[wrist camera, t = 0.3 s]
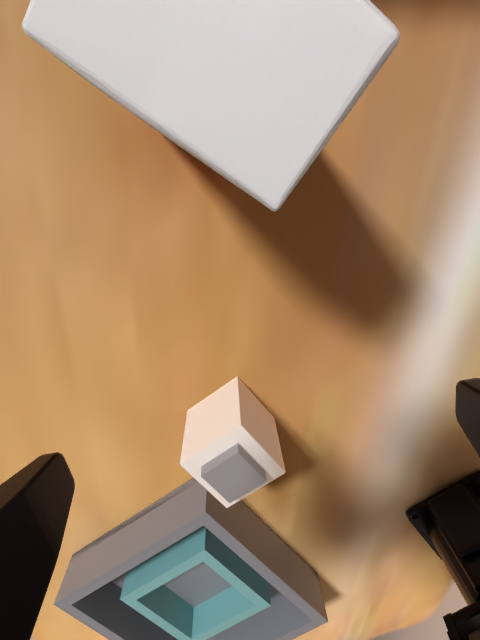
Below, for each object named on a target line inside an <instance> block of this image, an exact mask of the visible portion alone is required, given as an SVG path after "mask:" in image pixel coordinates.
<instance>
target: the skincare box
mask: <svg viewBox="0 0 480 640" xmlns="http://www.w3.org/2000/svg"><path fill="white" fill-rule="evenodd" d="M22 27H23V30H24V32H25V33H26V34H27V35H28V36H29V37H31V38H32V39H33V40H35V41H36V42H37V43H38V44H40V45H41V46H42V47H44V48H45V49H46V50H48V51H49V52H50V53H51V54H53V55H54V56H55V57H57V58H58V59H59V60H61V61H62V62H63V63H65V64H66V65H67V66H68V67H70V68H71V69H72V70H74V71H75V72H76V73H78V74H79V75H80V76H82V77H83V78H84V79H86V80H87V81H88V82H90V83H91V84H92V85H93V86H95V87H96V88H97V89H99V90H100V91H101V92H103V93H104V94H105V95H107V96H108V97H110V98H111V99H113V100H114V101H115V102H117V103H118V104H120V105H121V106H122V107H124V108H125V109H127V110H128V111H130V112H131V113H133V114H134V115H135V116H137V117H138V118H139V119H141V120H143V121H144V122H145V123H147V124H148V125H150V126H151V127H152V128H154V129H155V130H157V131H158V132H159V133H161V134H162V135H164V136H165V137H167V138H168V139H169V140H171V141H172V142H174V143H175V144H177V145H178V146H179V147H181V148H182V149H184V150H185V151H187V152H188V153H189V154H191V155H192V156H194V157H195V158H197V159H198V160H199V161H201V162H202V163H204V164H205V165H207V166H208V167H210V168H211V169H212V170H214V171H215V172H217V173H218V174H220V175H221V176H223V177H224V178H225V179H227V180H228V181H230V182H231V183H233V184H234V185H236V186H237V187H238V188H240V189H241V190H243V191H244V192H246V193H247V194H249V195H250V196H252V197H253V198H254V199H256V200H257V201H259V202H260V203H262V204H263V205H264V206H266V207H267V208H269V209H270V210H272V211H274V212H275V211H278V210H279V209H280V207H281V206H282V204H283V203H284V202H285V200H286V199H287V197H288V196H289V195H290V193H291V192H292V191H293V189H294V188H295V187H296V185H297V184H298V182H299V181H300V180H301V178H302V177H303V176H304V174H305V173H306V171H307V170H308V169H309V167H310V166H311V164H312V163H313V162H314V160H315V159H316V157H317V156H318V155H319V153H320V152H321V151H322V149H323V148H324V146H325V145H326V144H327V142H328V141H329V140H330V138H331V137H332V135H333V134H334V133H335V131H336V130H337V129H338V127H339V126H340V124H341V123H342V122H343V120H344V119H345V117H346V116H347V115H348V113H349V112H350V111H351V109H352V108H353V106H354V105H355V104H356V102H357V101H358V99H359V98H360V96H361V95H362V94H363V92H364V91H365V89H366V88H367V87H368V85H369V84H370V82H371V81H372V80H373V78H374V77H375V75H376V74H377V73H378V71H379V70H380V68H381V67H382V65H383V64H384V63H385V61H386V60H387V58H388V57H389V56H390V54H391V53H392V51H393V50H394V49H395V47H396V46H397V44H398V42H399V38H400V35H399V31H398V30H397V28H396V26H395V25H394V24H393V23H392V22H391V21H390V20H389V19H388V18H387V17H386V16H385V15H384V14H383V13H382V12H381V11H380V10H379V9H378V8H377V7H376V6H375V5H374V4H373V3H372V2H371V1H370V0H31V1H30V4H29V7H28V10H27V12H26V15H25V18H24V20H23V23H22Z"/></svg>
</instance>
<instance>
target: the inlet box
mask: <svg viewBox="0 0 480 640" xmlns="http://www.w3.org/2000/svg"><path fill="white" fill-rule="evenodd" d="M54 605H55V606H57V607H59V608H60V609H62V610H63V611H65V612H66V613H68V614H70V615H71V616H73V617H74V618H76V619H77V620H79V621H81V622H82V623H84V624H85V625H87V626H88V627H90V628H92V629H93V630H95V631H96V632H98V633H99V634H101V635H103V636H104V637H106V638H107V639H109V640H292V639H294V638H296V637H298V636H300V635H302V634H304V633H306V632H308V631H310V630H312V629H314V628H316V627H318V626H320V625H322V624H324V623H326V622H328V619H327V614H326V610H325V606H324V601H323V597H322V593H321V589H320V584H319V580H318V576H317V573H316V572H315V571H314V570H313V569H312V568H311V567H310V566H309V565H308V564H307V563H306V562H305V561H304V560H302V559H301V558H300V557H299V556H298V555H297V554H296V553H295V552H294V551H293V550H292V549H291V548H290V547H289V546H288V545H287V544H286V543H285V542H284V541H283V540H282V539H280V538H279V537H278V536H277V535H276V534H275V533H274V532H273V531H272V530H271V529H270V528H269V527H268V526H267V525H266V524H265V523H264V522H263V521H262V520H261V519H260V518H258V517H257V516H256V515H255V514H254V513H253V512H252V511H251V510H250V509H249V508H248V507H247V506H246V505H245V504H244V503H243V502H242V501H241V500H240V501H238V502H236V503H235V504H233V505H231V506H230V507H228V508H226V507H225V506H224V505H223V504H222V503H221V502H220V501H219V500H217V499H216V498H215V497H214V496H213V495H212V494H211V493H210V492H209V491H208V490H207V489H206V488H205V487H203V486H202V485H201V484H200V483H199V482H198V481H197V480H196V479H195V478H192V479H191V480H189V481H188V482H186V483H184V484H183V485H181V486H180V487H178V488H177V489H175V490H173V491H172V492H170V493H169V494H167V495H166V496H164V497H162V498H161V499H159V500H158V501H156V502H155V503H153V504H151V505H150V506H148V507H147V508H145V509H144V510H142V511H140V512H139V513H137V514H136V515H134V516H133V517H131V518H129V519H128V520H126V521H125V522H123V523H122V524H120V525H118V526H117V527H115V528H114V529H112V530H111V531H109V532H107V533H106V534H104V535H103V536H101V537H100V538H98V539H96V540H95V541H93V542H92V543H90V544H89V545H87V546H85V547H84V548H82V549H81V550H79V551H78V552H76V553H74V554H73V555H72V558H71V561H70V563H69V566H68V568H67V571H66V574H65V576H64V579H63V581H62V584H61V587H60V589H59V592H58V594H57V597H56V600H55V602H54Z"/></svg>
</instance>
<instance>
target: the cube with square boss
mask: <svg viewBox="0 0 480 640" xmlns="http://www.w3.org/2000/svg"><path fill="white" fill-rule="evenodd" d="M180 465H181V466H182V467H183V468H184V469H185V470H186V471H187V472H188V473H189V474H191V475H192V476H193V477H194V478H195V479H196V480H197V481H198V482H199V483H200V484H201V485H202V486H203V487H205V488H206V489H207V490H208V491H209V492H210V493H211V494H212V495H213V496H214V497H215V498H216V499H217V500H219V501H220V502H221V503H222V504H223V505H224V506H225V507H226V508H228V507H230V506H231V505H233V504H235V503H236V502H238V501H240V500H241V499H243V498H245V497H246V496H248V495H250V494H251V493H253V492H255V491H256V490H258V489H260V488H261V487H263V486H265V485H266V484H268V483H269V482H271V481H273V480H274V479H276V478H278V477H279V476H281V475H283V474H284V473H286V471H285V467H284V462H283V457H282V452H281V447H280V442H279V438H278V433H277V428H276V423H275V418H274V417H273V416H272V415H271V414H270V412H269V411H268V410H267V409H266V408H265V407H264V406H263V405H262V403H261V402H260V401H259V400H258V399H257V398H256V397H255V396H254V394H253V393H252V392H251V391H250V390H249V389H248V388H247V387H246V385H245V384H244V383H243V382H242V381H241V380H240V379H239V378H238V376H237V377H236V378H234V379H233V380H231V381H230V382H228V383H227V384H225V385H224V386H222V387H221V388H220V389H218V390H217V391H215V392H214V393H212V394H211V395H209V396H208V397H206V398H205V399H203V400H202V401H201V402H199V403H198V404H196V405H195V406H193V407H192V408H190V409H189V410H188V411H187V418H186V425H185V432H184V439H183V446H182V453H181V460H180Z"/></svg>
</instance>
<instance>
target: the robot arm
mask: <svg viewBox="0 0 480 640" xmlns="http://www.w3.org/2000/svg"><path fill="white" fill-rule="evenodd" d="M455 411H456V418H457V420H458V423H459V424H460V426H461V428H462V429H463V431H464V433H465V434H466V436H467V437H468V439H469V441H470V442H471V444H472V446H473V447H474V449H475V450H476V452H477V454H478V455H479V457H480V378H472V379H467V380H461V381H459V382H458V383H457V385H456V410H455ZM74 489H75V483H74V479H73V476H72V474H71V472H70V469H69V467H68V465H67V463H66V461H65V458H64V457H63V455H62V454H61V453H58V452H56V453H50V454H45V455H41V456H39V457H38V458H37V459H35V460H34V461H32V462H31V463H30V464H28V465H27V466H26V467H24V468H23V469H22V470H20V471H19V472H18V473H16V474H15V475H13V476H12V477H11V478H9V479H8V480H7V481H5V482H4V483H3V484H1V485H0V640H30V638H31V635H32V632H33V629H34V626H35V623H36V620H37V617H38V615H39V612H40V609H41V606H42V603H43V600H44V597H45V594H46V591H47V588H48V586H49V583H50V580H51V577H52V574H53V571H54V568H55V565H56V562H57V558H58V555H59V551H60V548H61V544H62V540H63V535H64V531H65V527H66V523H67V519H68V515H69V510H70V506H71V502H72V498H73V494H74ZM406 515H407V517H408V519H409V521H410V522H411V523H412V524H413V526H414V527H415V528H416V529H417V530H418V532H419V533H420V534H421V535H422V537H423V538H424V539H425V540H426V541H427V543H428V544H429V545H430V546H431V547H432V549H433V550H434V551H435V552H436V554H437V555H438V556H439V557H440V558H441V559H442V560H443V562H444V563H445V565H446V567H447V569H448V571H449V572H450V574H451V576H452V578H453V579H454V581H455V583H456V585H457V586H458V588H459V590H460V592H461V594H462V595H463V597H464V599H465V601H466V603H467V604H468V606H466V607H464V608H462V609H460V610H459V611H457V612H455V613H453V614H451V613H449V614H447V615H445V616H443V619H444V621H445V624H446V626H447V629H448V632H447V634H448V636H449V639H450V640H480V471H478V472H476V473H474V474H472V475H470V476H469V477H467V478H465V479H463V480H461V481H459V482H457V483H456V484H454V485H452V486H450V487H448V488H446V489H444V490H443V491H441V492H439V493H437V494H435V495H433V496H431V497H430V498H428V499H426V500H424V501H422V502H420V503H418V504H417V505H415V506H413V507H411V508H409V509H408V510H407V511H406Z"/></svg>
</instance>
